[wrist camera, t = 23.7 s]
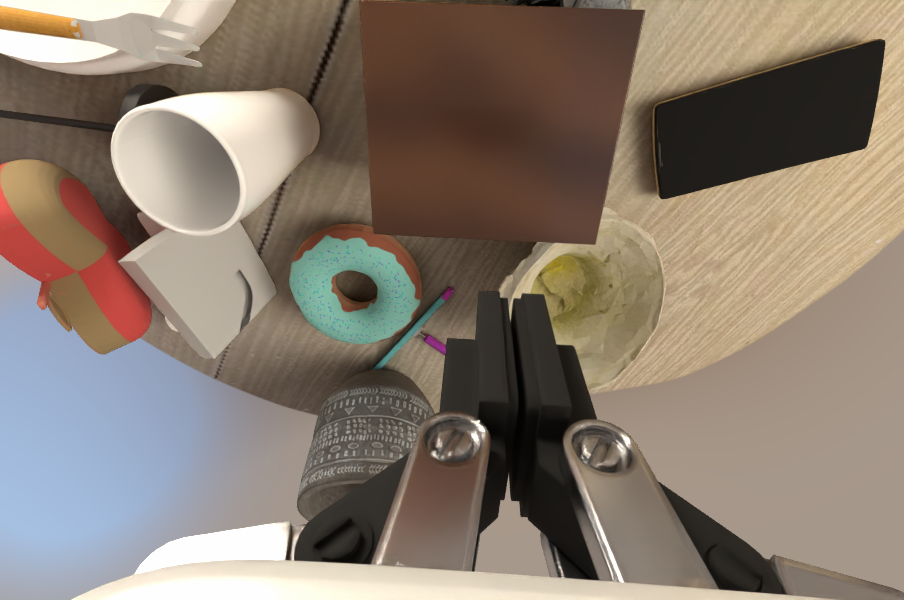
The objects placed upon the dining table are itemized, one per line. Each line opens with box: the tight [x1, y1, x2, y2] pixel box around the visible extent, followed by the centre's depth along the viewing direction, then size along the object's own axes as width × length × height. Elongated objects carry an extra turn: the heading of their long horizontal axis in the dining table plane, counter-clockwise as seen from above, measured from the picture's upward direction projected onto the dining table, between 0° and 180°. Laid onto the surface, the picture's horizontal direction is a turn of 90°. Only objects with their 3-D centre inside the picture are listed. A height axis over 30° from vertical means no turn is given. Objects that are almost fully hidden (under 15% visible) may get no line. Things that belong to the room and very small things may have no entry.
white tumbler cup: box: [111, 88, 320, 236], centre depth 28 cm, size 7×7×15 cm
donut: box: [289, 223, 422, 344], centre depth 39 cm, size 12×12×4 cm
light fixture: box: [0, 84, 179, 132], centre depth 32 cm, size 7×7×25 cm
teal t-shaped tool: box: [371, 287, 453, 370], centre depth 45 cm, size 15×1×5 cm
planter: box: [297, 369, 435, 521], centre depth 43 cm, size 12×12×13 cm
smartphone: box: [652, 39, 885, 199], centre depth 32 cm, size 7×1×15 cm
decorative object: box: [0, 159, 152, 354], centre depth 32 cm, size 14×4×15 cm
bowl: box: [498, 207, 666, 391], centre depth 36 cm, size 15×14×10 cm
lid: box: [359, 0, 645, 245], centre depth 24 cm, size 12×14×1 cm
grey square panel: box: [118, 222, 276, 359], centre depth 37 cm, size 12×11×4 cm
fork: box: [0, 5, 203, 67], centre depth 26 cm, size 2×2×20 cm
